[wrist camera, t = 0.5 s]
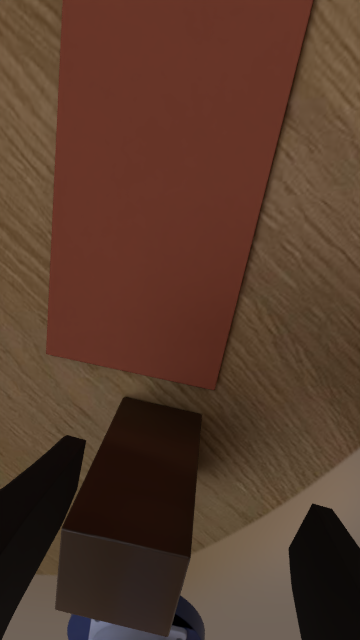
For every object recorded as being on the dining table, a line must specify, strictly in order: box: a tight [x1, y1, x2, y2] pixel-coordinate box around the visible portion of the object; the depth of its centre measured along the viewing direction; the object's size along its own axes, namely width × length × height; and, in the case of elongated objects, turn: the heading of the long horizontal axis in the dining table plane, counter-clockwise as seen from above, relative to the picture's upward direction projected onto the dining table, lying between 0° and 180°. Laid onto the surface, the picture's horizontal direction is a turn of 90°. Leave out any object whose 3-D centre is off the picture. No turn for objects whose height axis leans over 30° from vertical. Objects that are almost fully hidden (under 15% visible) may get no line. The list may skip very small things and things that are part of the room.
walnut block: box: [55, 397, 202, 637], centre depth 16 cm, size 4×4×8 cm
